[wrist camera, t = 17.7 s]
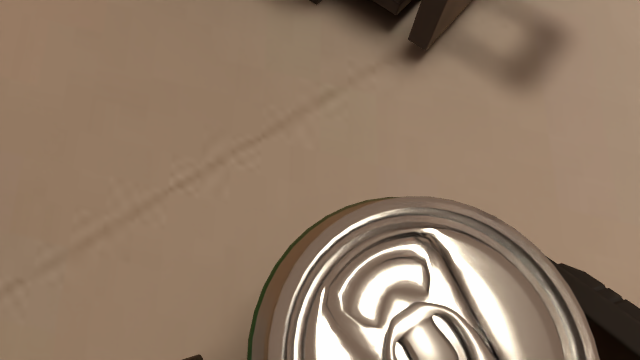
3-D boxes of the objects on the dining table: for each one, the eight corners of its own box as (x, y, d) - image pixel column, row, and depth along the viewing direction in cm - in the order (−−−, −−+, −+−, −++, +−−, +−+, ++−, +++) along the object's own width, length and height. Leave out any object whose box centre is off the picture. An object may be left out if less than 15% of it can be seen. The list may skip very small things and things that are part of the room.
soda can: (359, 262, 17) (461, 118, 6) (429, 369, 16) (725, 425, 5) (258, 326, 16) (167, 286, 5) (323, 450, 15) (394, 770, 4)
